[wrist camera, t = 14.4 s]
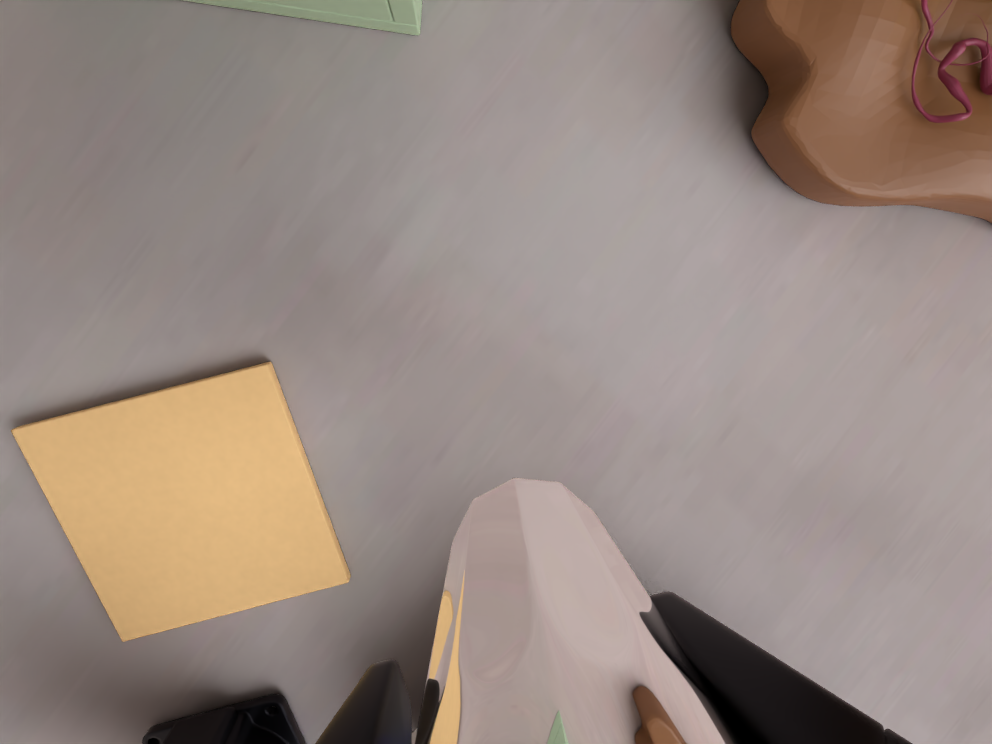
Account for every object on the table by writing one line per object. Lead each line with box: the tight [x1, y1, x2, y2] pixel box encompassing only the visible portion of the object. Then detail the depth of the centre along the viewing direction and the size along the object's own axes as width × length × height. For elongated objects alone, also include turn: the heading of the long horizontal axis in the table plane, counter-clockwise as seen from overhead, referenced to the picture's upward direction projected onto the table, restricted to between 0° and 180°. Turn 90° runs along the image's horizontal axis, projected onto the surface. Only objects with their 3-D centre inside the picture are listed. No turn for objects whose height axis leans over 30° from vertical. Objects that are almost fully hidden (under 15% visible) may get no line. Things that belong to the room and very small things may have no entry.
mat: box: [11, 362, 351, 642], centre depth 20 cm, size 10×10×1 cm
